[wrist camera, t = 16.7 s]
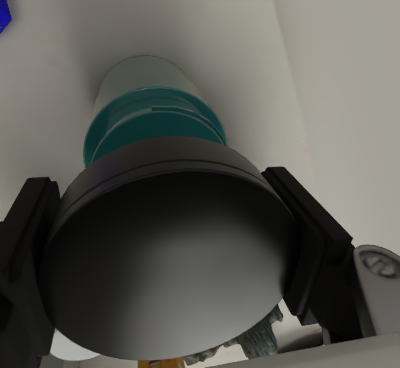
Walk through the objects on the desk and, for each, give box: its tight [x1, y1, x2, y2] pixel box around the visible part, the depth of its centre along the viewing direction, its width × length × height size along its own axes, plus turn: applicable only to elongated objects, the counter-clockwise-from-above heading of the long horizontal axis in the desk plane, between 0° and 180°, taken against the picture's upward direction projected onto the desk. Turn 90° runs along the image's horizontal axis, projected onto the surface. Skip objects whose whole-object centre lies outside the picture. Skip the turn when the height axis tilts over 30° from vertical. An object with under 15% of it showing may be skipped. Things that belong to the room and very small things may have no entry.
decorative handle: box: [224, 304, 283, 359], centre depth 32 cm, size 15×7×5 cm, turn 26°
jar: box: [83, 55, 228, 169], centre depth 15 cm, size 6×6×9 cm
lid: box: [37, 136, 301, 361], centre depth 8 cm, size 7×7×2 cm
